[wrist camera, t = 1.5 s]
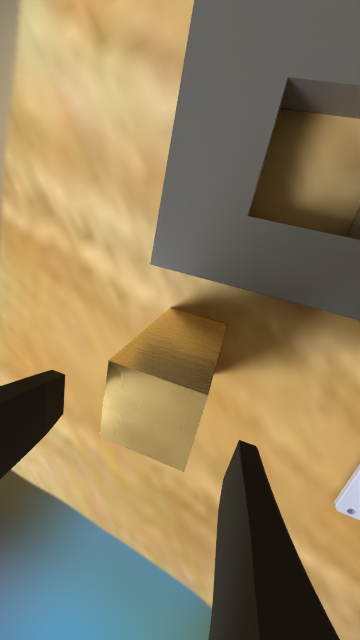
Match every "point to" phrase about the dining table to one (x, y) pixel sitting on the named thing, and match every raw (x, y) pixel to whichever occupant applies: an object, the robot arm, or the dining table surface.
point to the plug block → (162, 386)
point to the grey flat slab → (257, 147)
